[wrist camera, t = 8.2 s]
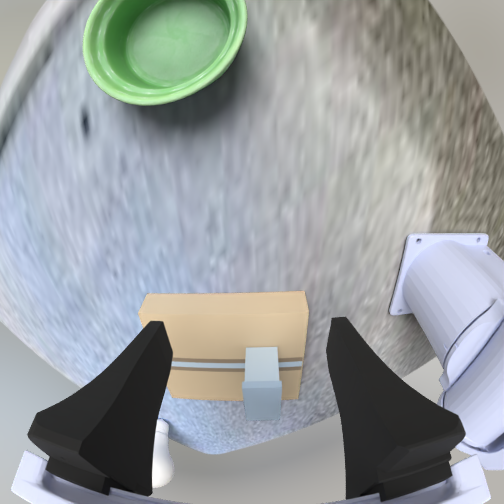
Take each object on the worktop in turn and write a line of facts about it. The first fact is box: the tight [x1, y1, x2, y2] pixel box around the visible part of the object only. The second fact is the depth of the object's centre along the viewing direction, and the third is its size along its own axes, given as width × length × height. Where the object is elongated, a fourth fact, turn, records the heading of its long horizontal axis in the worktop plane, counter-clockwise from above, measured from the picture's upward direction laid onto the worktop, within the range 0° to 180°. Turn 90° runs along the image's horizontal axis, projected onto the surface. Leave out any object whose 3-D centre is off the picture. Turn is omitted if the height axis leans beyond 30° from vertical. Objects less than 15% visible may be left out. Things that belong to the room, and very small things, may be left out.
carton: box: [138, 291, 309, 401], centre depth 25 cm, size 13×12×3 cm
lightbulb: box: [152, 419, 174, 488], centre depth 30 cm, size 6×6×11 cm
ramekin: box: [83, 0, 247, 106], centre depth 12 cm, size 9×9×4 cm
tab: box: [242, 347, 282, 421], centre depth 22 cm, size 3×5×4 cm, turn 2°
